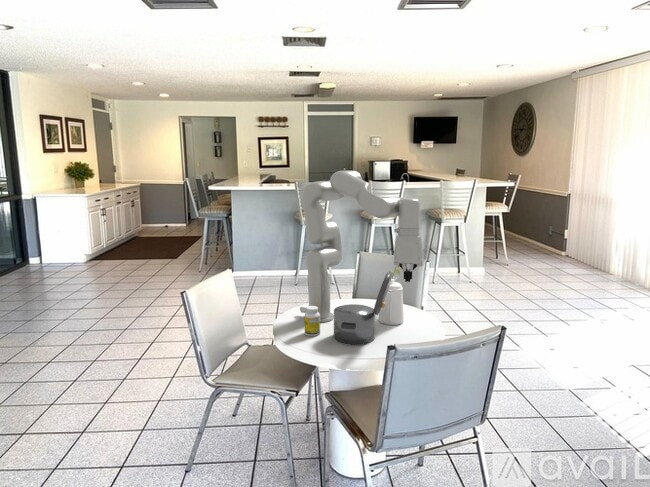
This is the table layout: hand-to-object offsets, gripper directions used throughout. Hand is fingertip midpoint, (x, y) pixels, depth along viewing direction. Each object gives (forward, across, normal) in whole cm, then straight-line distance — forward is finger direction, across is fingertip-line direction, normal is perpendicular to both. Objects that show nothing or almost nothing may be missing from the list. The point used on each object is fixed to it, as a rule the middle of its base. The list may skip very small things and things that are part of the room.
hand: (407, 281), depth 176 cm
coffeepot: (+24, -10, +22) cm, 34 cm away
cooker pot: (+24, -21, 0) cm, 32 cm away
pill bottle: (+24, -38, -1) cm, 45 cm away
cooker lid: (+5, -10, 0) cm, 12 cm away
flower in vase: (+24, -13, +45) cm, 53 cm away
